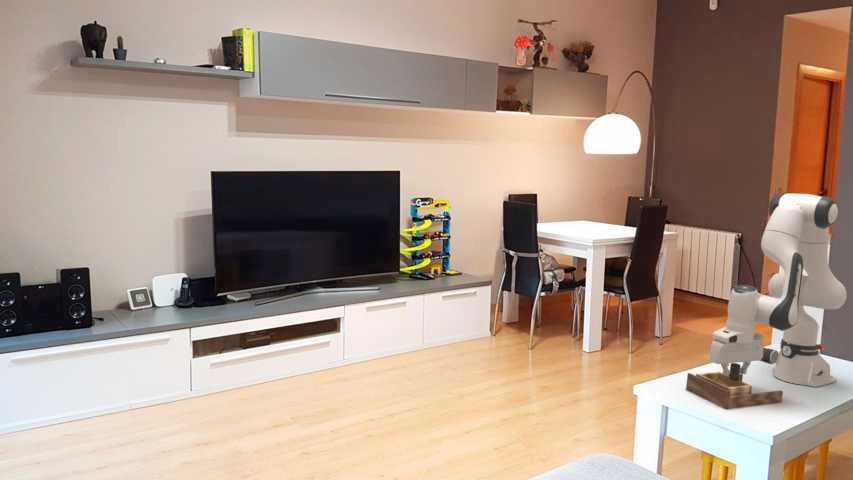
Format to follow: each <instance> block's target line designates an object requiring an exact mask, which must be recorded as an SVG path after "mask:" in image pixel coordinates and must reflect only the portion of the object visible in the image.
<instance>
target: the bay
mask: <svg viewBox="0 0 853 480" xmlns="http://www.w3.org/2000/svg"><path fill="white" fill-rule="evenodd" d="M728 376H729V375H728ZM743 377H744V374H741V373H740V374H739V381H741V382H743V379H744V378H743ZM685 390H686V391H688V392H689V393H692V394H694V395H695V396H698V397H700V398H702V399H704V400H706V401H708V402H709V403H712V404H714V405H716V406H718V407H721V408H722V409H725V410H731V409H732V410H733V409H738V408H739V409H741V408H748V407H756V406H765V405H772V404H773V405H774V404H780V403H782V402H783V397H784V396H783V395H784V391H783V390H773V391H772V390H771V391H764V392H755V393H751V394H744V395H735V396H730V391H728V390H726V389H724V388H721V387H719V386H717V385H715V384H713V383H711V382H708V381H706V380H704V379H702V378H700V377H698V376H696V374H694V373H690V372H687V377H686V385H685Z"/></svg>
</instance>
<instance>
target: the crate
mask: <svg viewBox="0 0 853 480" xmlns="http://www.w3.org/2000/svg"><path fill="white" fill-rule="evenodd" d="M729 367H730V368H729V370H730V375H729V376H725V375H723V372H720V371H714V372H713V371H711V372H705V373H704V372H702V373H696V374H695V376H698V377H700V378H702V379H704V380H706V381H708V382H711V383H713V384H715V385H717V386H719V387H721V388H724V389H726V390H728V391H730V396H735V395H744V394H752V389H753V385H751V384H748V383H746V382H744V381H742V382H741V381H739V374H741V373H740V368H741V367H742V366H741V364H739V363H738V362H736V363H730V365H729Z"/></svg>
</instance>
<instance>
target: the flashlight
mask: <svg viewBox="0 0 853 480" xmlns="http://www.w3.org/2000/svg"><path fill="white" fill-rule="evenodd" d="M778 354H779V351H778V350H776V349H772V348H765V347H763V358H762V359H761V360H762V361H764V362H767V363H769V364H772V363H773V364H776V362H777V358H778ZM761 360H760V361H761Z"/></svg>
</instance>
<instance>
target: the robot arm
mask: <svg viewBox="0 0 853 480" xmlns="http://www.w3.org/2000/svg"><path fill="white" fill-rule="evenodd" d="M767 211H768V215H769V219H768V221H767V223H766V225H765V226H766V227H765V229H764V231H763V234H762V237H761V240H760V241H761V242H760V247H761V251H762V253H763V254H764V255H765V256H766V257H767V258H768V259H769V260H770V261H772V262H774V263H775V264H777V265H778V266H779V267H781V268H782V269H783V272H779V273H778V272H777V273H775V274H773V275H772V276H771V278H770V279H769V281H768V285H767V290H768V293H769V295H770V296H768V295H766V294H762V293H759V292H758V288H757V287H755V286H752V285H747V284H739V285H736V286H734V287H733V288H732V290H731V291H730V295H729V300H728V304H727V320H726V321H725V322H726V323H725V326H723V327H722V328H719V329H717V330H715V331H713V333H712V335H711V336H712V339H713V340H712V342H711V344H710V349H709V360H710V361H711V362H712V363H714V364H715V365H721V369H722V373H723V375H725V376H728V375H730V369H729V367H730V364H731V363H743V364H742V366H740V374H743V375H746V374H747V372H748V368H749V367H750V366H751V362H755V361H758V362H759V361H761V359H762V358H763V348H764V343H763V342H764V341H763V340H764V337H763V335H762V334H761V333H760V332H755V329H756V324H755V323H757V324H760V325H763V326H766V327H767V326H768V327H771V328H773V329H776V330H778V331H782V332H783V334H782V338H781V341H780V351H778V358H777V362H776V363H775V366H774V367H773V368H772V372H773V376H774V377H775V378H776V379H778V380H780V381H784V382H788V383H791V384H796V385H801V386H802V385H803V386H809V387H814V388H818V387H822V386H825V385H829V384H832V383H836V382H837V381H838V380H837V378H836V377H834V376H833V375H831V364H829V363H828V362H827V360H825V359H824V358H823V356H821V355H820V351H824V350H825V345H823V344H820V343H819V344H817V343H818V333H819V328H820V327H819V323H818V321H817V320H816V319H815V318H814V317H813V316H811V315H810V314H808V313H807V311H806V310H805V307H804V306H806V307H811V308H815V309H820V310H821V309H822V310H838V309H840V308H841V307H842V306H844V304H845V302H846V300H847V297H848V295H847V294H848V293H847V290H846V287H845V286H844V284H843V283H841V282H840V281H839V280H838V279H837V278H836V276H835V275H834V274H833V272H832V270H831V268H830V266H829V261H828V257H829V256H828V251H829V249H828V248H829V237H830V235H829V234H830V232H829V230H830V227H831V226H832V225H834V223H835V222H836V221H837V218H838V214H839V205H838V203H837V201H836V200H835V199H834V198H831V197H828V196H819V195H816V194H809V193H788V192H778V193H776V194H774V195H773V197H771V199H770V200H769V203H768V209H767ZM804 271H805V273H806V274H807V275H804V274H803V272H804Z"/></svg>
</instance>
